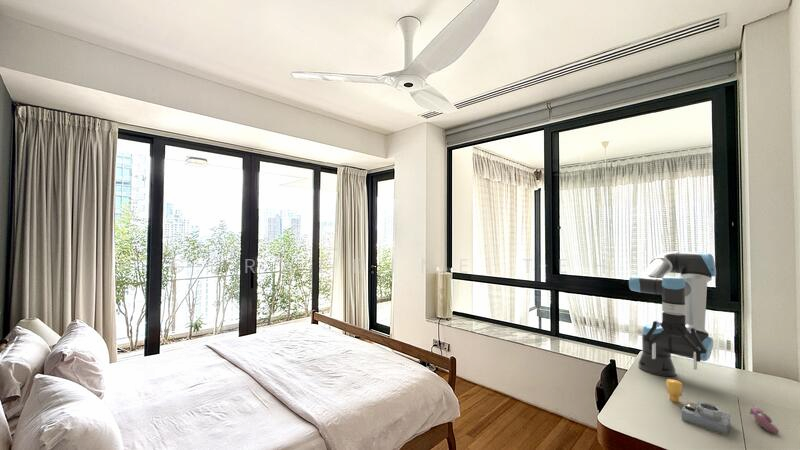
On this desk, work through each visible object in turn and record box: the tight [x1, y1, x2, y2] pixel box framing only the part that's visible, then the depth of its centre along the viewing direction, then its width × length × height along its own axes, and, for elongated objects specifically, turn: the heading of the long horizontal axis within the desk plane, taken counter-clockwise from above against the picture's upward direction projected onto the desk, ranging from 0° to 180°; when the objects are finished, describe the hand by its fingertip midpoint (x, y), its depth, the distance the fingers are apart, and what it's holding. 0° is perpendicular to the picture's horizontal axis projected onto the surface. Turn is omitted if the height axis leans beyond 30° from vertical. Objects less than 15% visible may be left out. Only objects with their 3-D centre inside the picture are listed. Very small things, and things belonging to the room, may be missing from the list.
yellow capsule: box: [666, 378, 683, 403], centre depth 135 cm, size 5×5×8 cm
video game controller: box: [749, 406, 779, 435], centre depth 118 cm, size 10×5×7 cm, turn 141°
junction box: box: [681, 401, 731, 436], centre depth 119 cm, size 12×11×6 cm
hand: (673, 363), depth 135 cm, fingers open, 13 cm apart
